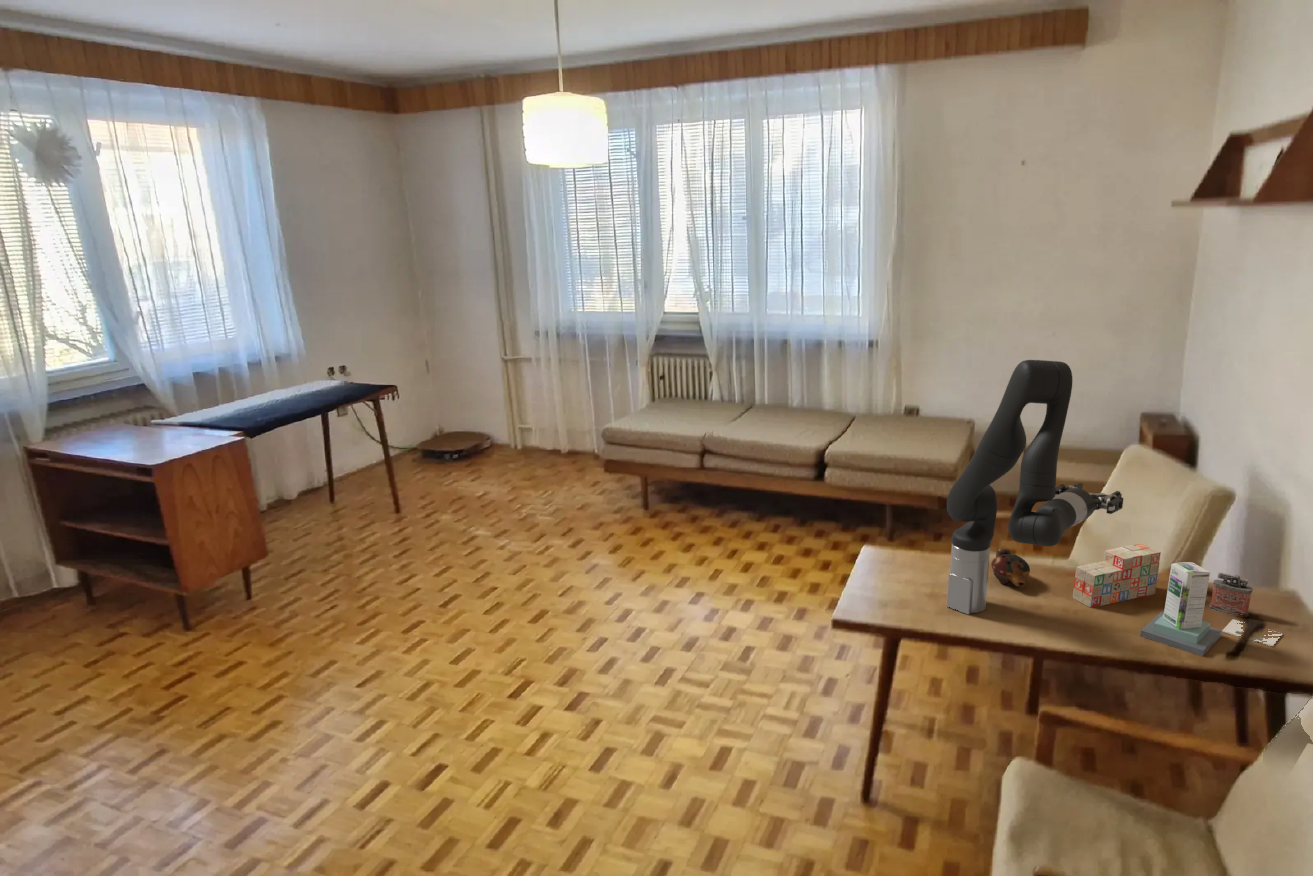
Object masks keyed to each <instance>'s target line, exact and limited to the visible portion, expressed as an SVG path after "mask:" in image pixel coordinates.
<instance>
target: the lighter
mask: <svg viewBox="0 0 1313 876" xmlns="http://www.w3.org/2000/svg"><path fill="white" fill-rule="evenodd" d="M1248 582H1249V579H1248V578H1243V577H1240V575H1238V574H1234V575H1230V574H1228V573H1224V572H1219V573H1217V579H1214V580H1213V584H1212V585H1213V588H1212V593H1211V594H1212V595H1211V600H1210V601H1211V602H1210V603H1209V607H1210V608H1209V610H1211V609H1214V610H1216V611H1219V612H1222V613H1221V614H1223V613H1226V614H1225V615H1227V614H1234V615H1235V614H1236V615H1238V614H1240V615H1243V614H1248V615H1249V608H1250V602H1251V596H1252V593H1253V590H1254V588H1253V587H1251V586H1249V585H1248V584H1249V583H1248ZM1216 611H1215V612H1216ZM1219 612H1218V613H1219Z"/></svg>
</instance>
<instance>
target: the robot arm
mask: <svg viewBox="0 0 1313 876" xmlns="http://www.w3.org/2000/svg"><path fill="white" fill-rule="evenodd" d="M1072 391H1073V372H1072V369H1071V368H1070V366H1069V365H1068V364H1067V363H1066V362H1064V361H1058V360H1043V359H1041V360H1040V359H1025V360H1022V361H1021V362H1019V363H1018V364H1017V365H1016V367H1015V368H1014V370H1013V372H1012V374H1011V377H1010V379H1009V381H1008V384H1007V386H1006V389H1005V391H1004V394H1003V396H1002V398H1001V401H1000V403H999V406H998V408H997V410H996V412H995V414H994V416H993V418H992V420H991V421H990V424H989V425H988V427H987V429H986V430H985V432H984V434H983V436H982V437H981V440H980V441H979V444H978V446H977V448H976V450H975V452H974V453H973V455H972V457H971V459H970V461H968V464H967V465H966V468H965V469H964V470H963V472H962V474H960V476H959V477H958V478H957V480H956V481H955V483H954V484H953V485H952V487H951V488H950V490H949V493H948V495H947V499H946V510H947V513H948V515H949V517H950V518H951V519H952V520H954V521H955V522H959V523H961V522H962V523H965V524H964V525H962V526H960V527H959V528H957V529H955V530H954V531H953V533H952V536H951V551H950V566H949V574H948V581H947V583H948V584H947V598H946V599H947V600H946V607H947V606H948V607H947V608H949V607H950V608H949V609H952V610H955V609H956V611H957V610H958V612H960V613H962V614H963V613H964V614H966V615H971V614H976V613H981V612H983V611H985V610H986V607H987V606H986V605H987V595H988V593H987V592H988V579H989V568H990V567H989V566H990V554H991V544H992V543H991V542H992V540H993V538H994V534H995V529H996V528H995V526H996V522H997V521H996V520H997V514H998V513H997V512H998V511H997V510H998V497H997V494H996V491H995V489H994V488H993V486H991V484H992V483H994V482H996V481H997V480H998V479H1001V477H1003V476H1005V475H1006V474H1007V473H1008V472H1010V470H1012V469H1013V468H1014V466H1015V465H1016V463H1018V461H1019V459H1020V457H1021V456H1022V454H1023V452H1024V454H1023V456H1022V457H1021V458H1022V459H1021V463H1020V471H1019V472H1020V473H1019V490H1018V493H1017V497H1016V500H1015V503H1014V506H1013V509H1012V511H1011V513H1010V516H1009V519H1008V524H1007V529H1008V534H1009V536H1010V537H1011V539H1012V540H1013V541H1014V542H1016V543H1019V544H1026V545H1033V546H1041V547H1052V546H1053V547H1054V546H1056V545H1058V544H1059V543H1060V542H1061V539H1062V538H1063V535H1064V533H1065V532H1066V530H1068V529H1069V528H1072V527H1074V526H1077V525H1079V524H1080V523H1081V522H1083V521H1085V520H1086V519H1088V518H1089V517H1090V516H1092V515H1093V513H1095V511H1099V510H1106V514H1108V515H1112V514H1114V513H1116V512H1118V511H1120V510H1122V509H1123V506H1124V497H1122V496H1123V495H1122V493H1121V491H1120V490H1119V491H1118V490H1116V491H1113V493H1110V494H1106V493H1104V492H1099V493H1097V492H1096V493H1093V492H1088V491H1086V490H1084V489H1083V486H1084V483H1081V482H1078V483H1075V484H1073V485H1071V484H1070V485H1068V486H1066V484H1059V485H1057V470H1058V469H1057V468H1058V460H1059V458H1058V457H1059V452H1060V451H1059V450H1060V446H1061V441H1062V438H1063V433H1064V432H1063V431H1064V430H1065V429H1064V428H1065V424H1066V419H1067V415H1068V411H1069V405H1070V401H1071V396H1072ZM1028 404H1044V405H1046V411H1045V417H1044V420H1043V423H1042V425H1041V426H1040V428H1039V430H1038V432H1037V433H1036V435H1035V437H1034V438H1033V439H1032V441H1031V442H1030V443H1029V445H1028V446H1027V434H1026V431H1025V430H1026V429H1025V427H1024V425H1023V422H1022V419H1021V418H1022V417H1021V415H1022V412H1023V410H1024V408H1025V407H1026V406H1027V405H1028ZM1026 446H1027V448H1026ZM1025 448H1026V450H1025ZM1056 485H1057V486H1056ZM1108 499H1109V500H1108ZM1042 502H1043V504H1042V505H1040V506H1039V507H1038V508H1037V510H1036V511H1032V510H1033V508H1034V506H1035V505H1036V504H1037V503H1042ZM1044 502H1045V503H1044Z"/></svg>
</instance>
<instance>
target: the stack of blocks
mask: <svg viewBox="0 0 1313 876" xmlns="http://www.w3.org/2000/svg"><path fill="white" fill-rule="evenodd" d="M1104 550H1105V549H1104ZM1160 559H1161V551H1159V550H1157V549H1155V548H1152V547H1150V546H1147V545H1144V544H1143V543H1137V544H1128V545H1124V546H1120V547H1116V548H1109V549H1107V550H1105V551H1104V555H1103V561H1098V562H1091V563H1087V564H1081V565H1077V566H1076V567H1075V568H1076V569H1075V576H1074V581H1073V591H1072V599H1074V600H1076V601H1078V602H1080V603H1082V604H1083V605H1084V606H1085V605H1086V606H1087V607H1089V608H1090V609H1091V608H1095V607H1100V606H1101V607H1102V606H1105V605H1110V604H1115V603H1118V602H1123V601H1127V600H1133V599H1136V598H1142V597H1147V596H1151V595H1153V596H1154V595H1156V587H1157V580H1158V574H1159V569H1160Z"/></svg>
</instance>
